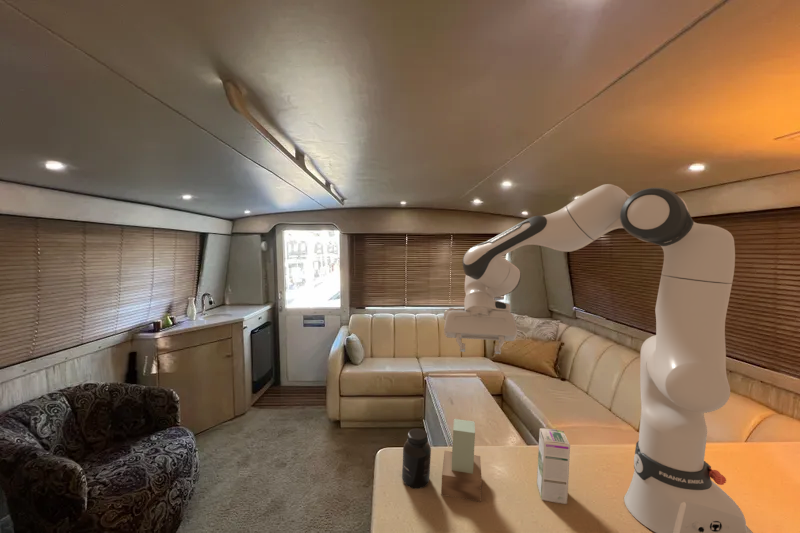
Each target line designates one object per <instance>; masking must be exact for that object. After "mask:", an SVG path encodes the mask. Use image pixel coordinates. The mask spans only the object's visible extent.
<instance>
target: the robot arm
mask: <svg viewBox="0 0 800 533" xmlns="http://www.w3.org/2000/svg"><path fill="white" fill-rule="evenodd" d="M617 229H624V230H625V231H626V232H627V233H628V234H629V235H631V236H632V237H634V238H636V239H637V240H639V241H643V242H645V243H651V244H654V245H658V246H660V247H661V249H662V251H663V264H662V269H661V275H660V280H659V286H658V290H657V298H656V302H655V309H654V311H655V319H656V320H655V321H656V322H655V328H656V329H655V332H656V333H655V334H654V335H652V336H650V337H648V338H646V339H645V340H644V341H643V342H642V345H641V347H640V352H639V354H640V355H639V356H640V365H639V366H640V368H639V369H640V370H639V371H640V372H639V373H640V374H639V375H640V376H639V377H640V378H639V379H640V380H639V381H640V382H639V383H640V384H639V385H640V388H639V389H640V407H641V408H640V420H639V421H640V423H639V431H638V433H639V434H638V441H637V442H636V444H635V448H634V449H635V450H634V456H633V468H634V470H633V471H634V472H633V475H632V479H631V481H630V484H629V486H628V489H627V492H626V493H625V494H624V498H623V501H624V504H625V507H626V509H627V510H628V511H629V513H630V514H631V516H633V517H634V518H635V519H636V520H637V521H638V522H639V523H641V524H642V525H643V526H644V527H646V528H648V529H649V530H650V531H652V532H654V533H754V532H753V531H752V530H751V529H750V528H749V526H748V525H747V522H746V517H745V516H744V512H743V511H742V509H741V508H740V507H739V505H738V504H737V503H736V501H734V499H732V498H731V497H730V495H729V494H728V493H726V491H724V490H723V489H722V488H721V487H720V486H723V485H725V484H726V483H727V478H726V476H724V475H723V474H721V472H720V471H719V470H717V469H713V468H712V466H711V465H710V464H709V463H708V462H706V461H705V456H706V448H707V447H706V445H707V438H708V426H707V422H706V419H705V413H707V414H708V413H712V412H715V411H717V410H720V409H721V408H722V407H724V406H725V405H726V404H727V403H728V401H729V400H730V399H729V398H730V397H731V386H730V383H729V380H728V374H727V350H726V334H725V333H726V330H725V329H726V318H727V312H728V307H729V302H730V295H731V291H732V286H733V280H734V275H735V268H736V267H735V265H736V248H735V247H736V246H735V238H734V236H733V235H732V233H731V232H730V231H728V230H727V229H725V228H723V227H721V226H717V225H713V224H709V223H708V224H705V223H697V222H695V221H694V220H693V218H692V216H691V214H690V210H689V208H688V205H687V203H686V202H685V200H684V199H683V198H682V197H680V196H679V195H678V194H677V193H675V192H674V191H672V190H669V189H667V188H663V187H649V188H648V187H647V188H645V189H641V190H639V191H637V192H634V193H633V194H631V195H629V194H628V193H627V192H626V191H625V190H624V189H622V188H621V187H620V186H617V185H614V184H613V183H612V184H611V183H607V184H606V183H605V184H602V185H599V186H597V187H595V188H593V189H591V190H589V191H587V192H585V193H584V194H582V195H579V197H577V198H575V199H574V200H572V201H570V202H569V203H568V204H566V205H565V206H563V207H562V208H560V209H558V210H557V211H554V212H552V213H548V214H545V215H544V214H543V215H535V216H531V217H528V218H527V219H525V220H523V221H520V222H519V223H516V224H514V225H513V226H512V227H510V228H508V229H506V230H504V231H503V232H501V233H499V234H497V235H496V236H494V237H492V238H489V239H488V240H486V241H483V242H480V243H478V244H475V245H473V246H471V247H469V249H467V251H466V252H465V253H464V255H463V257H462V269H463V271H464V274H465V279H464V292H465V296H464V300H463V301H464V302H463V304H464V306H463V308H461V307H460V308H454V307H450V308H449V309H446V310H445V311H444V312H443V319H444V326H443V334H444V336H445V337H446V338H451V339H452V338H453V339H455V340H456V343H457V344H458V346H459V352H464V353H465V352H466V343H463V341H462V339H467V340H469V339H471V340H484V341H498V345H496V344H495V346H494V354H496V355H501V353H502V347H503V346H504V344H505V341H506V342H515V340H516V339H517V337H518V328H517V323H516V319H515V316H514V315H513V313H512V312H511V305H510V304H509V303H506V302H503V301H499V300H497V299H495V298H500V297H504V296H506V295H508V294H510V293H513V292H514V291H516V290H517V288H518V287H519V285H520V283H521V278H522V275H521V274H522V273H521V270H520V268H519V267H517V266H516V265H515V264H513V263H512V262H510V261H509V260H507V259H505V258H504V257H503V256H505V255H506V254H509V253H510V252H513V251H515V250H516V249H519V248H520V247H524V246H528V245H531V246H532V245H535V246H541V247H545V248H549V249H552V250H555V251H558V252H565V253H568V252H569V253H570V252H574V251H577V250H580V249H582V248H584V247H586V246H588V245H589V244H591V243H593V242H595V241H596V240H597V239H599V238H601V237H602V236H604V235H606V234H608V233H609V232H611V231H614V230H617ZM719 485H720V486H719Z"/></svg>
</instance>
